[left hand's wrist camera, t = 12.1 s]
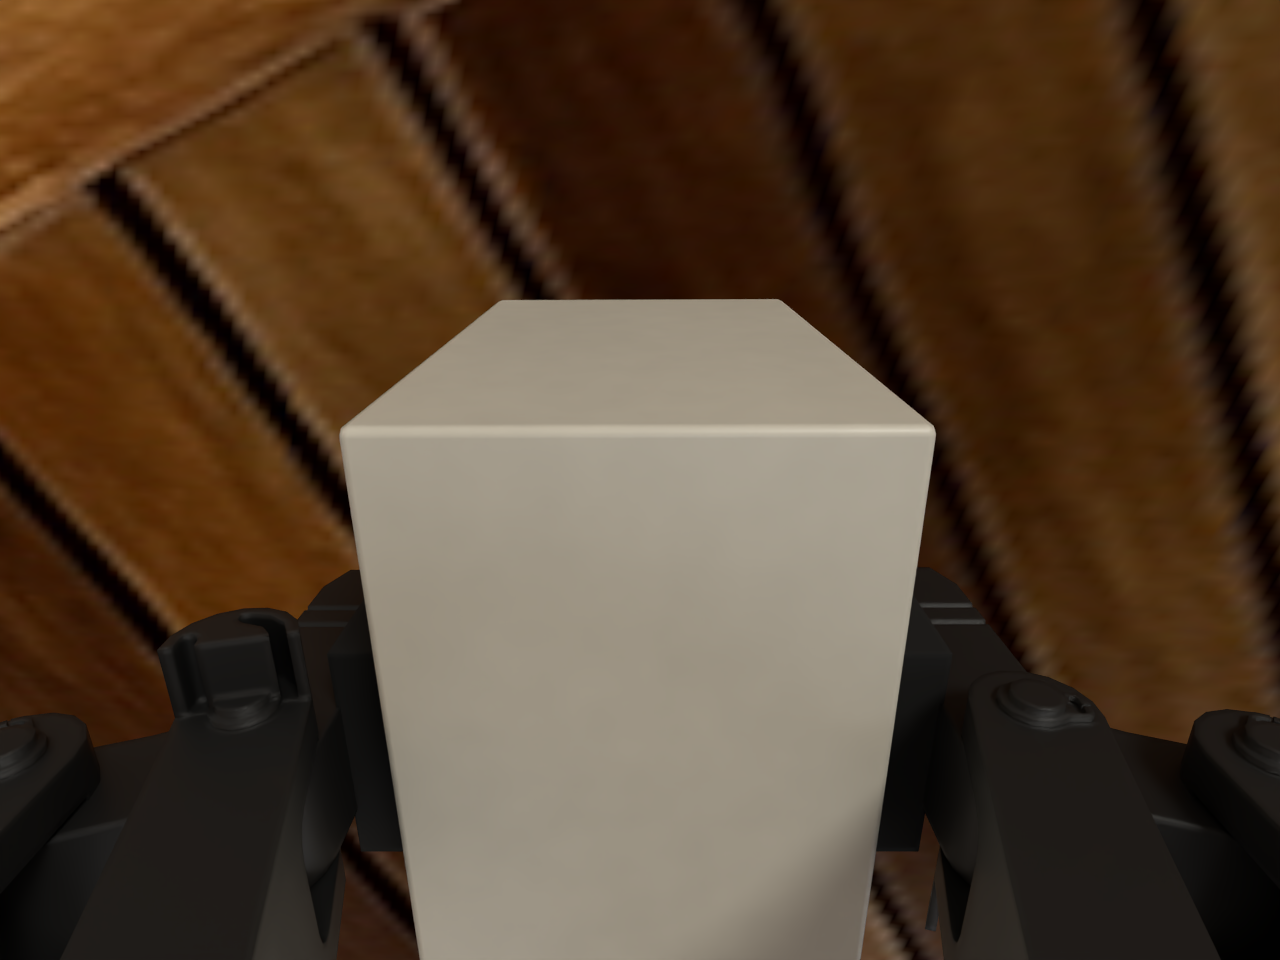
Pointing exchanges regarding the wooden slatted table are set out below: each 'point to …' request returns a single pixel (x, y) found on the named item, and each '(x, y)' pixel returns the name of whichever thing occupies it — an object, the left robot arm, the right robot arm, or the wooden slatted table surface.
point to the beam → (638, 628)
